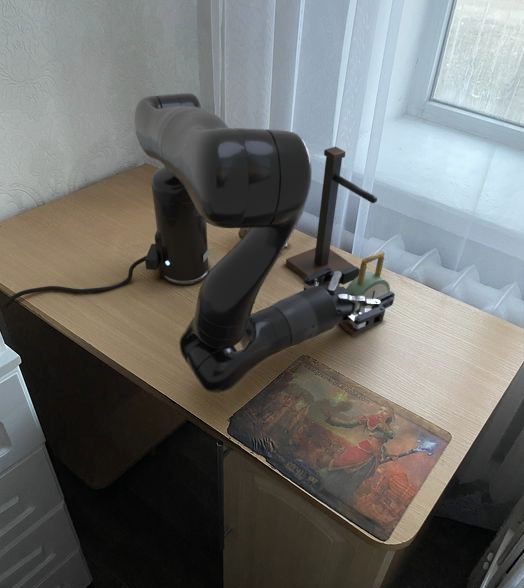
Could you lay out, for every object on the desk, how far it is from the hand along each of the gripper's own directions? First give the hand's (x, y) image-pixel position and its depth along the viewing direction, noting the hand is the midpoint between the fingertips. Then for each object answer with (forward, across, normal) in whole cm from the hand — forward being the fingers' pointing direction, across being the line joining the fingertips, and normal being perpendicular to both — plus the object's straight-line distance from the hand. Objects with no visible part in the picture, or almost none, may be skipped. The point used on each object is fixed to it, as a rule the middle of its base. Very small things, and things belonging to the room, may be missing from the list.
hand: (374, 283), depth 92 cm
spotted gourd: (-2, +30, +8) cm, 31 cm away
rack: (+3, +14, +8) cm, 16 cm away
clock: (-2, 0, +8) cm, 8 cm away
